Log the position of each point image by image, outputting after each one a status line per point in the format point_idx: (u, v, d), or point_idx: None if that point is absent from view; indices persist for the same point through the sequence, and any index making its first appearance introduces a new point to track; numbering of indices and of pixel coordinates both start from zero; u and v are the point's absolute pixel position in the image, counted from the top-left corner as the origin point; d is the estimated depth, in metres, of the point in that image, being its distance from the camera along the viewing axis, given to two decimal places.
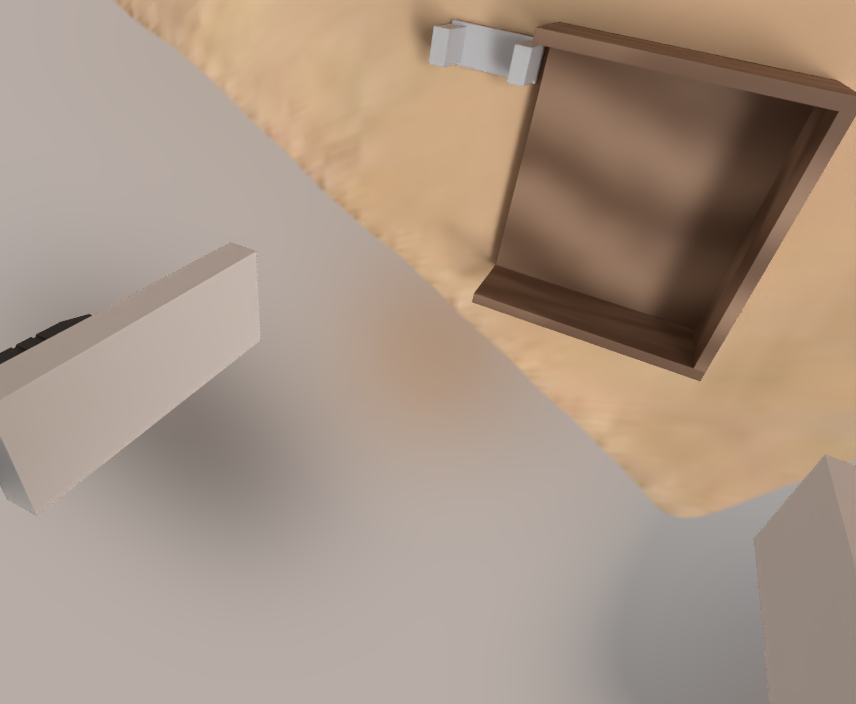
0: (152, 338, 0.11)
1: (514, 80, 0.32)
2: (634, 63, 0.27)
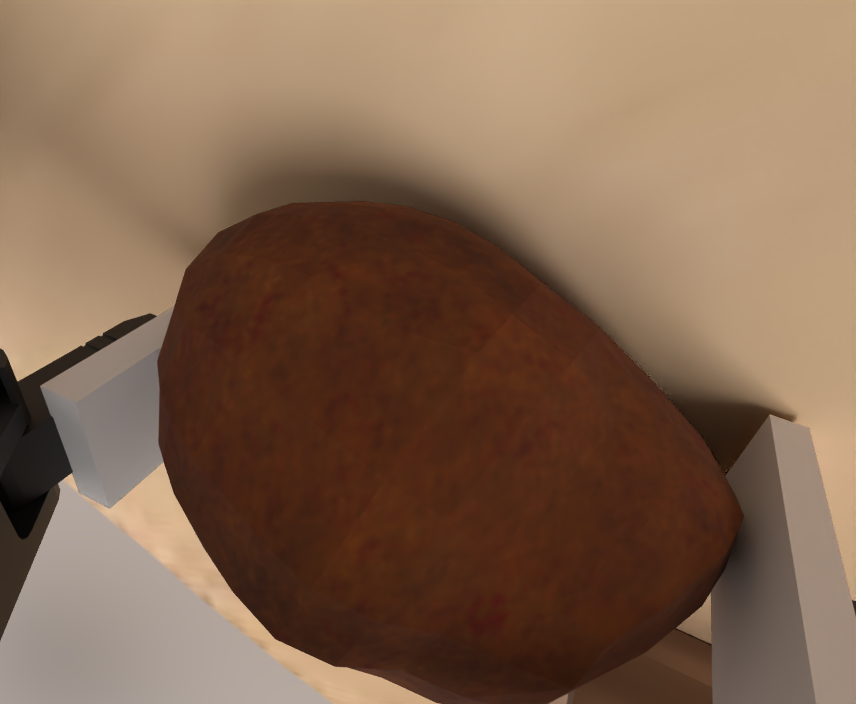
0: None
1: None
2: None
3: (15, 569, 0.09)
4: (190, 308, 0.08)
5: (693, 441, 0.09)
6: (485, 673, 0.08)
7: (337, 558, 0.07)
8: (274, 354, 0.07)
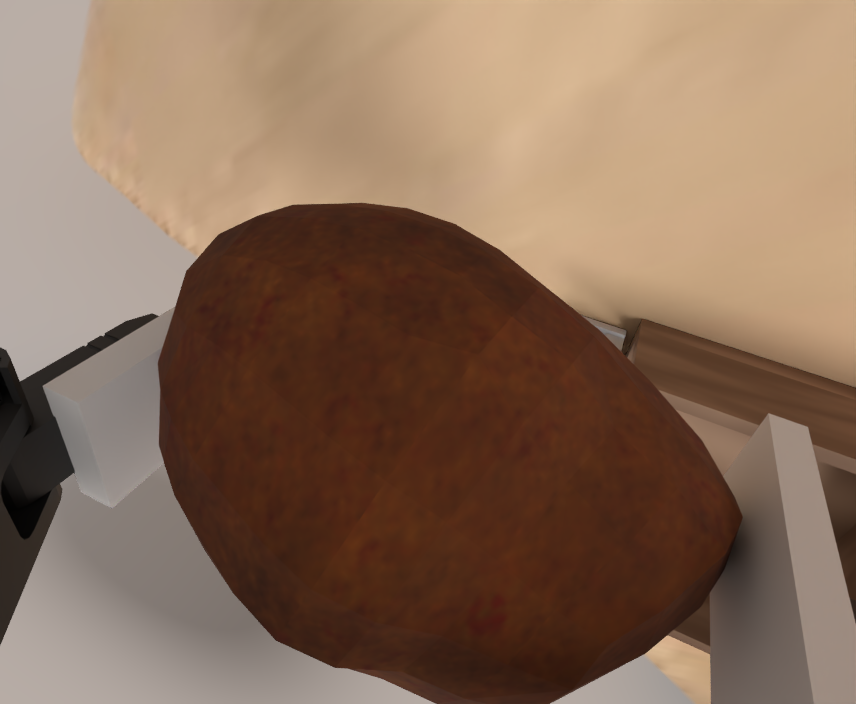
0: None
1: None
2: (743, 431, 0.24)
3: (17, 568, 0.09)
4: (190, 310, 0.08)
5: (692, 443, 0.09)
6: (484, 674, 0.08)
7: (337, 559, 0.07)
8: (275, 355, 0.07)
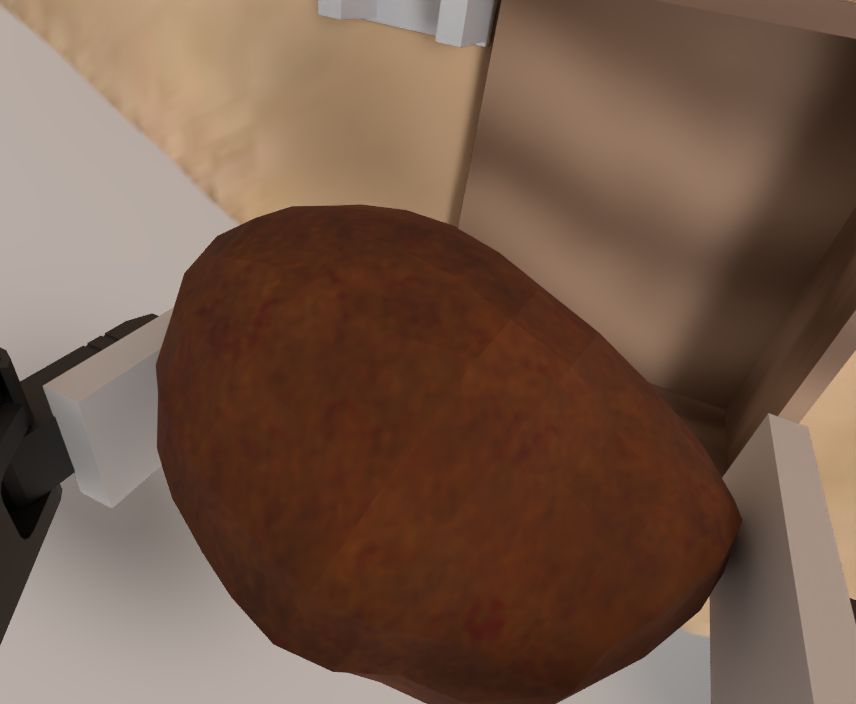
0: None
1: (446, 37, 0.20)
2: None
3: (17, 569, 0.09)
4: (188, 312, 0.08)
5: (691, 445, 0.09)
6: (482, 678, 0.08)
7: (334, 564, 0.07)
8: (273, 358, 0.07)
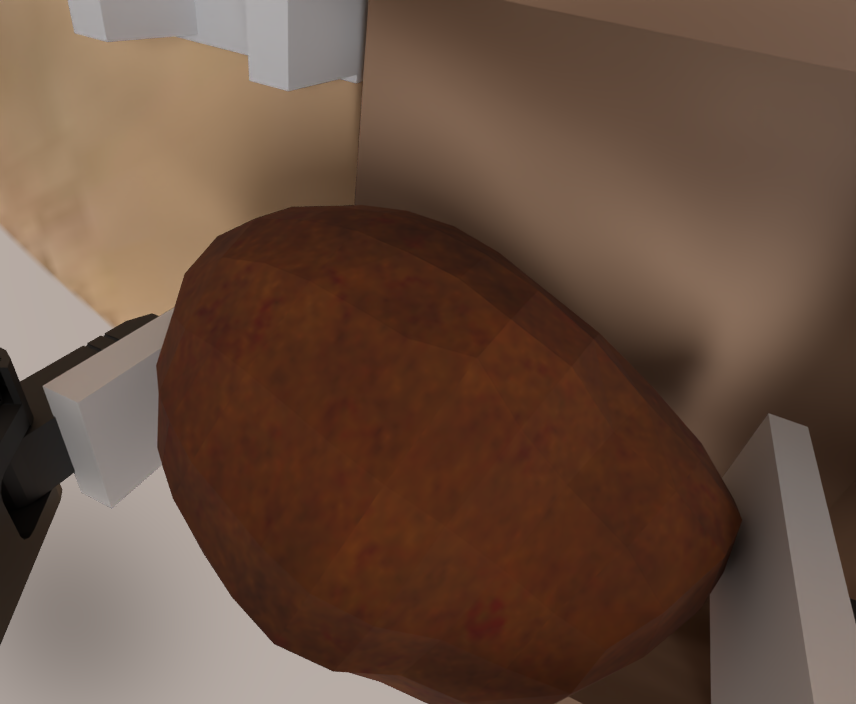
0: None
1: (265, 74, 0.12)
2: (557, 1, 0.07)
3: (16, 569, 0.09)
4: (190, 313, 0.08)
5: (691, 445, 0.09)
6: (482, 678, 0.08)
7: (335, 564, 0.07)
8: (273, 358, 0.07)
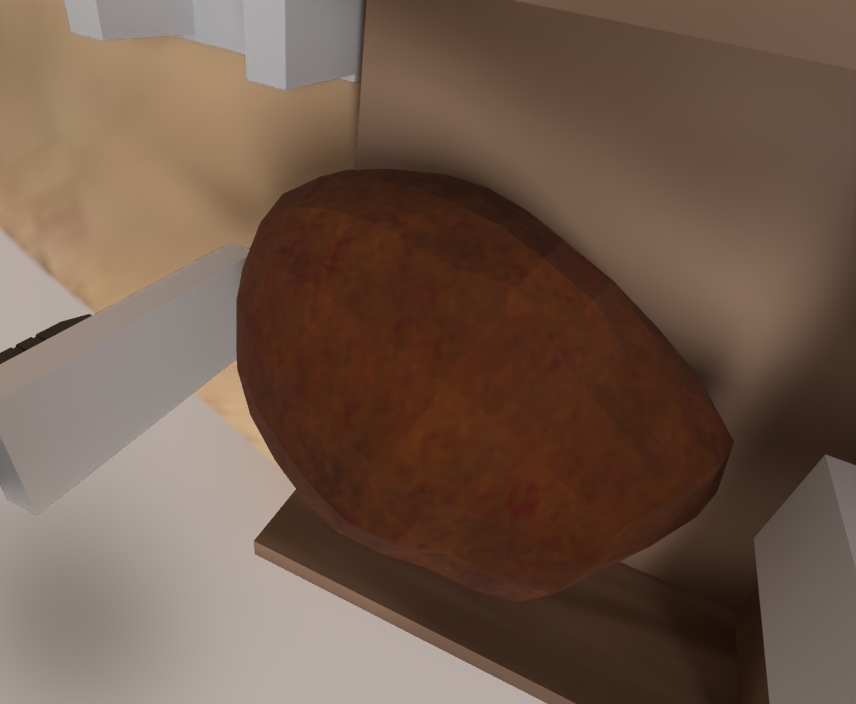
0: (153, 338, 0.11)
1: (262, 73, 0.12)
2: None
3: None
4: (271, 251, 0.10)
5: (691, 376, 0.11)
6: (518, 552, 0.09)
7: (403, 447, 0.08)
8: (349, 285, 0.09)
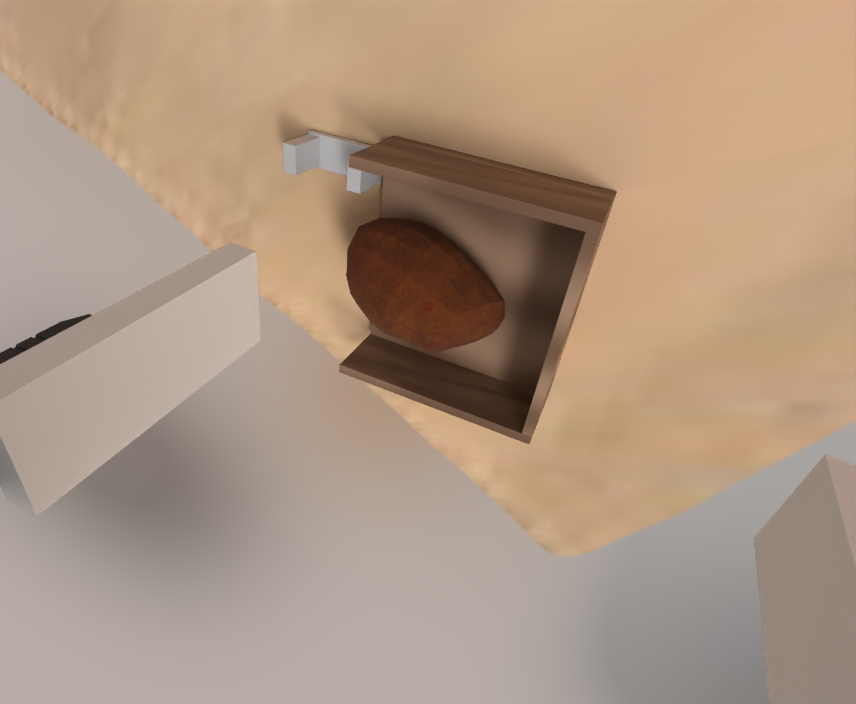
0: (153, 338, 0.11)
1: (352, 188, 0.36)
2: (427, 187, 0.31)
3: None
4: (359, 243, 0.35)
5: (486, 280, 0.36)
6: (428, 323, 0.34)
7: (397, 291, 0.33)
8: (382, 251, 0.34)
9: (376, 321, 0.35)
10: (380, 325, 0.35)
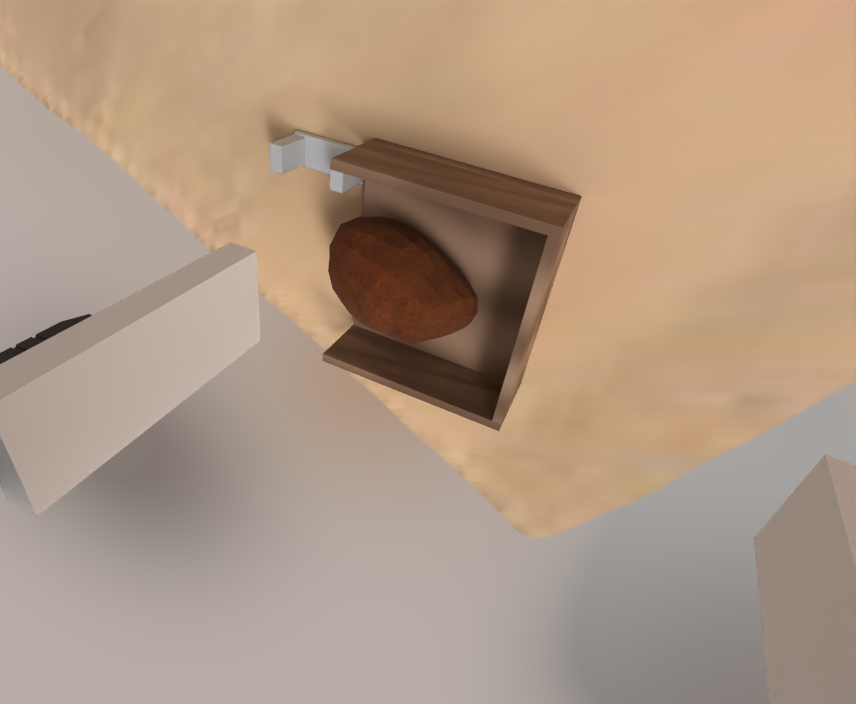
0: (152, 338, 0.11)
1: (334, 188, 0.39)
2: (403, 190, 0.34)
3: None
4: (340, 241, 0.37)
5: (459, 277, 0.38)
6: (404, 316, 0.36)
7: (374, 287, 0.35)
8: (361, 249, 0.36)
9: (355, 314, 0.37)
10: (359, 318, 0.37)
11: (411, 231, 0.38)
